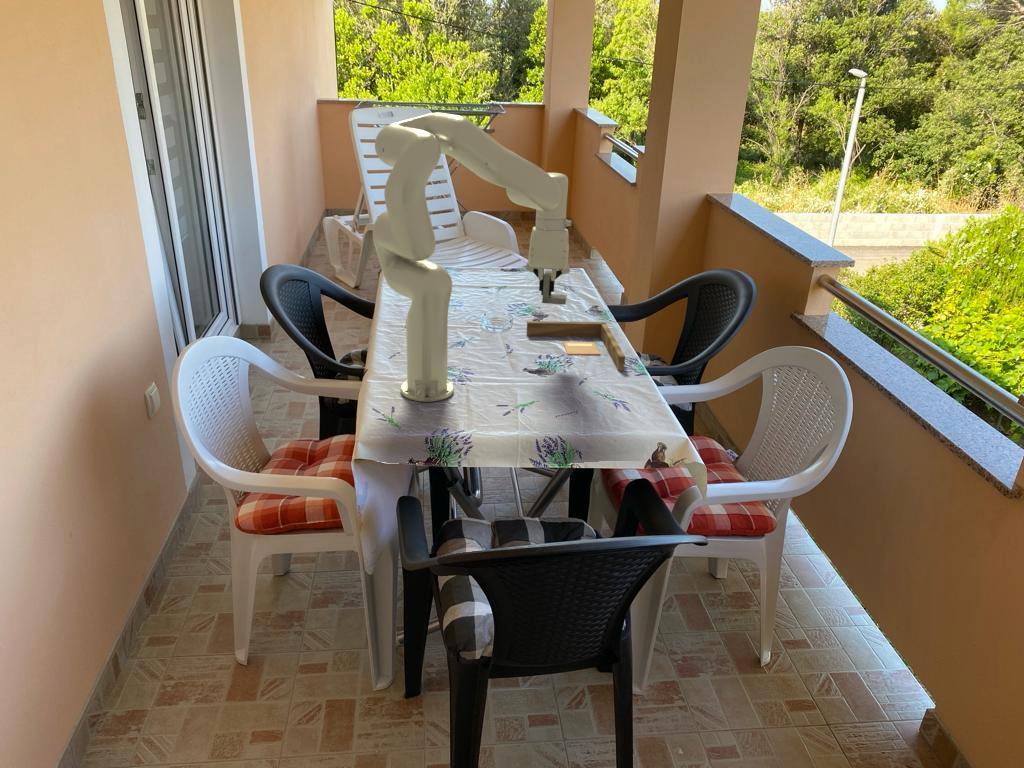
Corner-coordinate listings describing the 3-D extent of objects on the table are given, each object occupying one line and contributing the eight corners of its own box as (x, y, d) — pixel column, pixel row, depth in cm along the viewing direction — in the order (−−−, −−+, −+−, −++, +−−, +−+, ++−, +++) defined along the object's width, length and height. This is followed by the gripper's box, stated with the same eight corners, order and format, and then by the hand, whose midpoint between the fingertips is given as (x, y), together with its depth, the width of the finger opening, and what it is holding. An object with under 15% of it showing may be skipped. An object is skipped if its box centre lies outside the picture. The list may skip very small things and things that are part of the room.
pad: (599, 355, 203) (600, 353, 203) (567, 354, 202) (567, 353, 202) (594, 343, 211) (594, 341, 211) (562, 342, 211) (562, 341, 210)
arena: (623, 370, 194) (625, 356, 192) (536, 370, 192) (537, 355, 190) (604, 335, 218) (605, 322, 216) (526, 334, 216) (527, 321, 214)
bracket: (543, 299, 197) (545, 270, 195) (566, 300, 197) (568, 272, 194) (542, 302, 191) (544, 273, 189) (565, 304, 191) (567, 275, 189)
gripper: (581, 222, 189) (576, 291, 197) (521, 218, 191) (518, 287, 198) (580, 229, 182) (575, 300, 190) (518, 225, 184) (515, 296, 192)
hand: (546, 293), depth 194 cm, fingers closed on bracket, 1 cm apart
